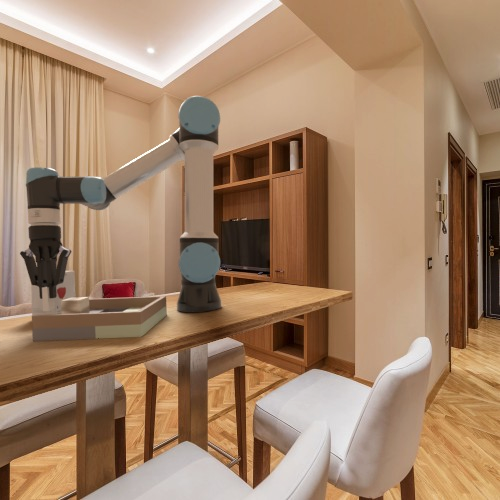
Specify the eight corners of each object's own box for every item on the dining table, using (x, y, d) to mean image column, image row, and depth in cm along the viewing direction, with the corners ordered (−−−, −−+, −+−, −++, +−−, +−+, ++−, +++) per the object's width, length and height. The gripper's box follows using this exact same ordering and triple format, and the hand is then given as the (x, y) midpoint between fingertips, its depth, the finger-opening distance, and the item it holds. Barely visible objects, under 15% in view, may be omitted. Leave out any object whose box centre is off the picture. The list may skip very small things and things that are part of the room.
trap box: (166, 314, 100) (166, 296, 99) (141, 336, 76) (140, 311, 75) (84, 318, 99) (83, 299, 99) (32, 341, 75) (31, 316, 75)
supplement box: (55, 321, 97) (53, 272, 97) (31, 320, 99) (29, 273, 98) (77, 314, 106) (75, 270, 106) (54, 314, 108) (52, 270, 107)
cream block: (89, 314, 90) (89, 297, 90) (80, 318, 85) (79, 300, 85) (72, 315, 90) (71, 297, 90) (61, 319, 85) (61, 300, 85)
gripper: (10, 225, 83) (15, 314, 83) (60, 223, 83) (64, 312, 84) (30, 227, 91) (34, 308, 91) (75, 225, 91) (79, 306, 91)
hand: (48, 310), depth 87 cm, fingers closed
